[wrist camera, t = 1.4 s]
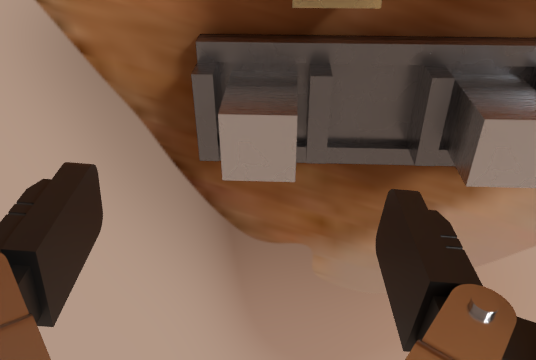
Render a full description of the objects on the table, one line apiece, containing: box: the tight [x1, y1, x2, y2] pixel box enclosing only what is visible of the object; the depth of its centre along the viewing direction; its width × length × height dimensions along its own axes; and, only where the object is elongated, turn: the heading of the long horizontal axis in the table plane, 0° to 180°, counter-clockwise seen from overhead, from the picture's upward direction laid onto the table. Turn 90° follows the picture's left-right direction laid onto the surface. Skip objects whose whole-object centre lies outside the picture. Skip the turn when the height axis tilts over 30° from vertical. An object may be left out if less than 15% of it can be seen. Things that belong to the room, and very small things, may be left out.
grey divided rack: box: [191, 34, 536, 188], centre depth 27 cm, size 8×21×7 cm, turn 90°
